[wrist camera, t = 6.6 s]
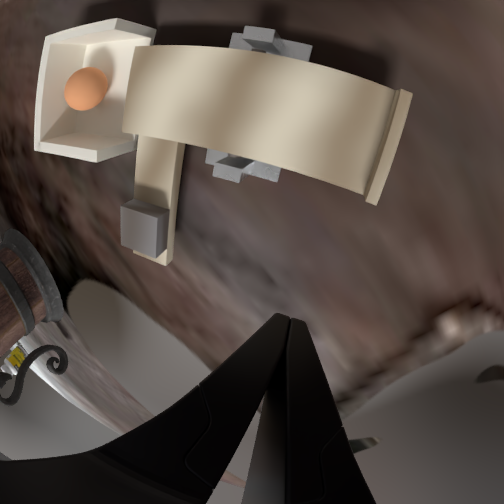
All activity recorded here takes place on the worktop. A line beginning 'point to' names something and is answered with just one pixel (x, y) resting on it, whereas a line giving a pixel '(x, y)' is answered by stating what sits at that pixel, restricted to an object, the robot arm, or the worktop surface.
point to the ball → (85, 88)
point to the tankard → (26, 305)
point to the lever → (249, 126)
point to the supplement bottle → (14, 360)
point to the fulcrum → (272, 45)
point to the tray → (108, 110)
